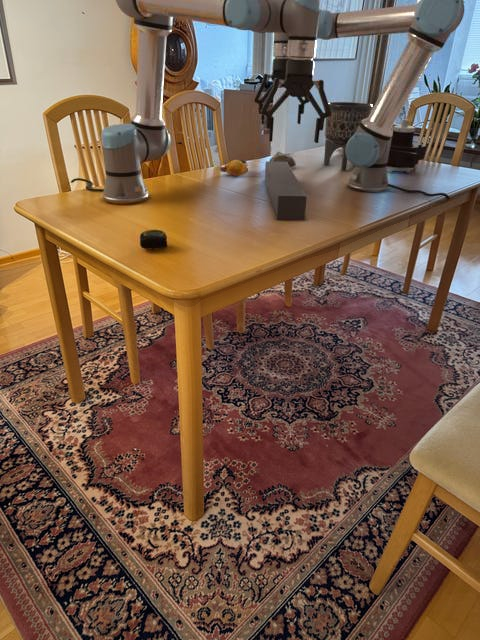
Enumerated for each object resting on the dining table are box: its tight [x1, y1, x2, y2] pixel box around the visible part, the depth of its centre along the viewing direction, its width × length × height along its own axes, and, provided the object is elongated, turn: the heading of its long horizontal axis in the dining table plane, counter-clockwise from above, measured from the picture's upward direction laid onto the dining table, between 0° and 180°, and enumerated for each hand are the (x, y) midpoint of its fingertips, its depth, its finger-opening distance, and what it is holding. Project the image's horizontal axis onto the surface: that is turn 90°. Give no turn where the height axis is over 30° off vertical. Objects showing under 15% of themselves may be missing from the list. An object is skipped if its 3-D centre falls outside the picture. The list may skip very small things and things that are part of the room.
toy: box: [219, 159, 249, 177], centre depth 192 cm, size 11×6×15 cm
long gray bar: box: [264, 160, 308, 221], centre depth 161 cm, size 52×9×7 cm, turn 1°
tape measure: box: [139, 229, 168, 250], centre depth 117 cm, size 7×7×4 cm
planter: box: [323, 101, 374, 172], centre depth 204 cm, size 20×20×26 cm
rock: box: [268, 151, 297, 168], centre depth 203 cm, size 13×9×6 cm, turn 131°
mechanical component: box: [386, 119, 428, 174], centre depth 205 cm, size 22×21×30 cm
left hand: (293, 141), depth 134 cm, fingers open, 13 cm apart
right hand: (280, 123), depth 169 cm, fingers open, 13 cm apart
